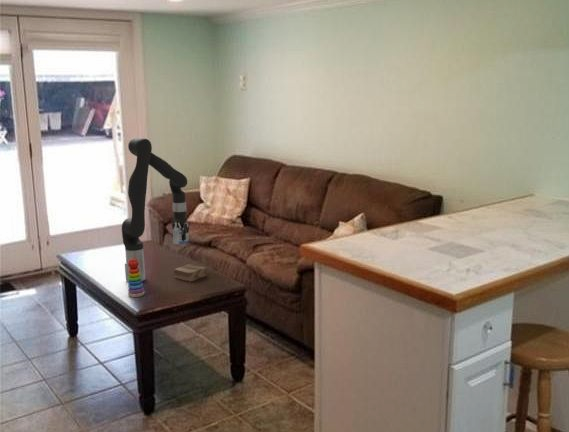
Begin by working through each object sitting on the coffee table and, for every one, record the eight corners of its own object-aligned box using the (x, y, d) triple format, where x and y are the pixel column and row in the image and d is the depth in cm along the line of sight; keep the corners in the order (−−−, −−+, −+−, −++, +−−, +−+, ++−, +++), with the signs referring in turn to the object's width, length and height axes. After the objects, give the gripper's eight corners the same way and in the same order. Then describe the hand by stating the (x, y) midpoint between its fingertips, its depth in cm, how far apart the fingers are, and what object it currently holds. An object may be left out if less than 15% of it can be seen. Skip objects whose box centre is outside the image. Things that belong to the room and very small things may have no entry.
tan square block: (190, 282, 318) (190, 273, 316) (174, 278, 325) (174, 269, 323) (206, 276, 327) (205, 267, 326) (190, 272, 334) (190, 263, 333)
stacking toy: (142, 291, 304) (139, 255, 300) (146, 296, 297) (144, 259, 293) (126, 294, 300) (123, 257, 296) (130, 298, 293) (127, 261, 289)
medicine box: (178, 244, 337) (177, 229, 335) (173, 243, 339) (172, 228, 337) (188, 242, 343) (188, 227, 341) (183, 240, 345) (182, 226, 343)
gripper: (166, 209, 339) (167, 238, 342) (182, 212, 329) (183, 243, 333) (177, 207, 344) (178, 236, 348) (193, 210, 335) (194, 240, 338)
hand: (180, 239), depth 340 cm, fingers closed on medicine box, 4 cm apart
